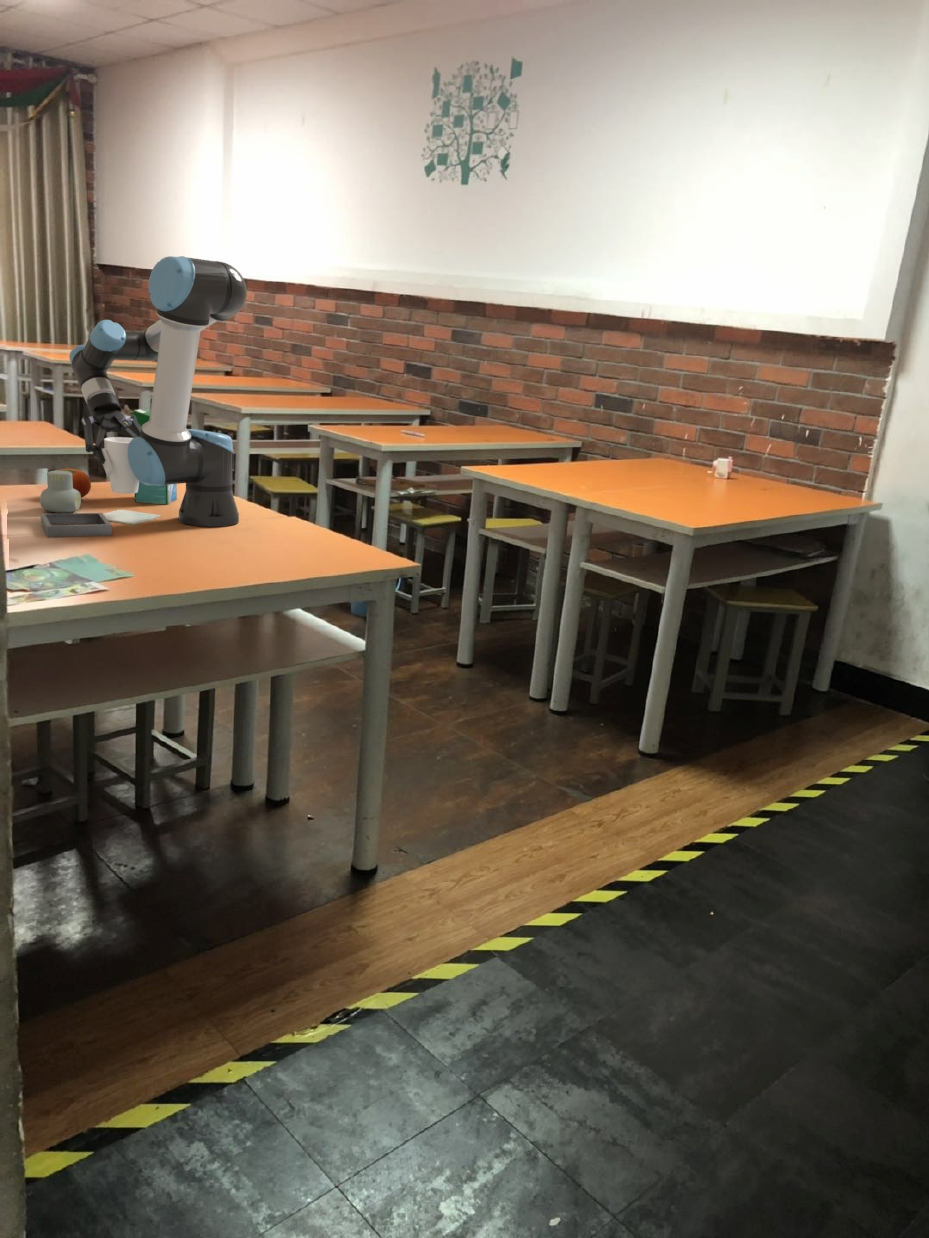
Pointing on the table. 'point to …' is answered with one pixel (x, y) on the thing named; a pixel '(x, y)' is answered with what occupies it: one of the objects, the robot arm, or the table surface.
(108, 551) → the table surface
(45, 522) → the grey square frame
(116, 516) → the pad
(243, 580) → the table surface
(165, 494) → the milk carton
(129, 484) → the foam cup
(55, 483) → the air freshener
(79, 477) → the fruit
